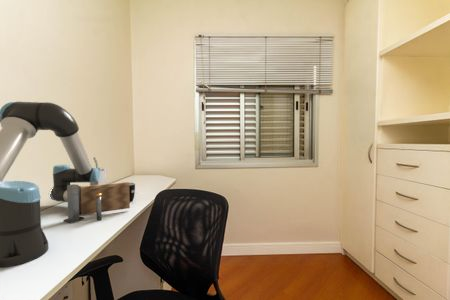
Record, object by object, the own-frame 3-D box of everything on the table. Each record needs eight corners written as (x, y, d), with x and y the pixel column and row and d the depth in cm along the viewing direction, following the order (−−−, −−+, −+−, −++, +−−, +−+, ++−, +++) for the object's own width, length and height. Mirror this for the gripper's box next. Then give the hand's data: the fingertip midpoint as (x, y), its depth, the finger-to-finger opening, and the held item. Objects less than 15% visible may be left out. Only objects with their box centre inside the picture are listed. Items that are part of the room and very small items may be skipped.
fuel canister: (97, 199, 145) (96, 157, 143) (88, 199, 145) (87, 157, 143) (107, 193, 160) (106, 155, 159) (99, 193, 160) (98, 155, 158)
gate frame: (87, 225, 104) (86, 188, 103) (63, 221, 108) (62, 185, 107) (103, 219, 112) (102, 184, 110) (79, 215, 116) (78, 182, 115)
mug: (132, 203, 137) (132, 185, 137) (116, 203, 136) (115, 185, 136) (138, 197, 149) (138, 181, 149) (123, 198, 148) (122, 181, 148)
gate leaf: (77, 216, 111) (76, 186, 110) (76, 214, 113) (75, 185, 112) (129, 208, 123) (129, 181, 122) (129, 207, 125) (128, 181, 124)
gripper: (86, 199, 135) (121, 203, 127) (64, 206, 122) (101, 211, 115) (86, 186, 134) (121, 189, 127) (64, 191, 122) (101, 195, 114)
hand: (112, 199), depth 121 cm, fingers closed
